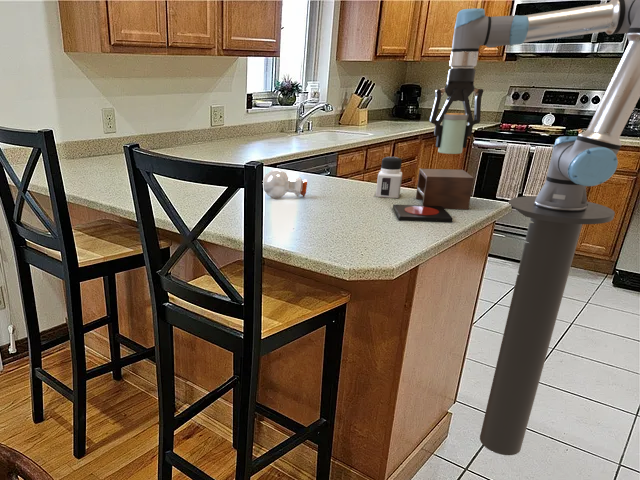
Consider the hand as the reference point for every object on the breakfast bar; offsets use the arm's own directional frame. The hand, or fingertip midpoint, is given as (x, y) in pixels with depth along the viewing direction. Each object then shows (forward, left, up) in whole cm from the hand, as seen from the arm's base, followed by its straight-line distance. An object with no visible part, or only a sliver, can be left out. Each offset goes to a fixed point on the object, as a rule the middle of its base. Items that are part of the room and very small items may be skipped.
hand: (450, 146), depth 166 cm
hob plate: (+9, +16, -18) cm, 26 cm away
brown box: (0, 0, -18) cm, 18 cm away
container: (+16, -10, -18) cm, 26 cm away
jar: (0, 0, -2) cm, 2 cm away
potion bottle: (+52, -2, -18) cm, 55 cm away
